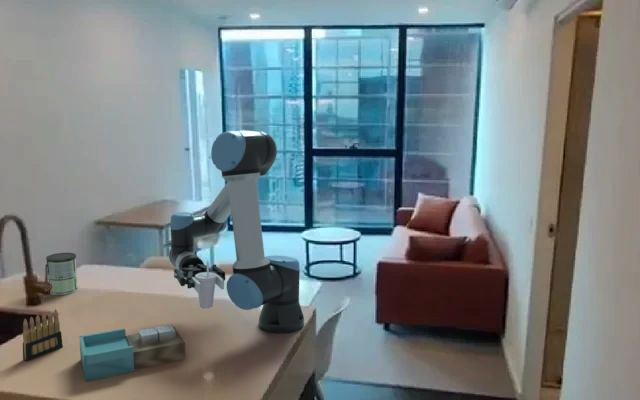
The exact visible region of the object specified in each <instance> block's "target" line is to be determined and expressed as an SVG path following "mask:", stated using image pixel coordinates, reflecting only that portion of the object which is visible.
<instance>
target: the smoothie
mask: <svg viewBox="0 0 640 400" xmlns="http://www.w3.org/2000/svg"><path fill="white" fill-rule="evenodd" d="M209 262H210V261H209V260H206V266H207V272H202V273H198V274H196V275H195V278H196V279H197V280H198V281H199V283H200V284H201V293H198V292H197V296H198V301H199V302H198V303H199V308H201V309H210V308H213V306H214V305H213V304H214V297H215V288H216V284H215V282H216V279H217V274H215V273H212V272H209V267H210V265H209Z"/></svg>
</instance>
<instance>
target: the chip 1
mask: <svg viewBox="0 0 640 400" xmlns="http://www.w3.org/2000/svg"><path fill="white" fill-rule="evenodd" d="M138 334H139V340H140V342H141V344H142V345H144V344H149V343H154V342H158V332H157V331H156V327H151V328H144V329H139V330H138Z"/></svg>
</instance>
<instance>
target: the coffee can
mask: <svg viewBox="0 0 640 400" xmlns="http://www.w3.org/2000/svg"><path fill="white" fill-rule="evenodd" d="M76 258H77V254H76V253H73V252H57V253H53V254H50V255H47V256H46V257H45V259H46V267H48V271H47V281H48V280H49V282H50V283H51V284H52V286H53V290H52V291H51V293H50V294H49V295H52V296H65V295H70V294H73V293H75V292H78V289H79V288H78V276H77V275H78V273H77V259H76Z"/></svg>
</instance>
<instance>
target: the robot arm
mask: <svg viewBox="0 0 640 400" xmlns="http://www.w3.org/2000/svg"><path fill="white" fill-rule="evenodd" d="M210 151H211V152H210V157H211V160H212V163H213V165H214V166H215V168H216V169H218V171H221V177H222V179H223V180H225V181H226V184H225V185H224V186H223V187H222V189H221V190H220V192H219V194H217V196H216V197H215V198H214V200H213V201H212V202H211V204H210V206H209V207H208V208H207V210H206V211H205V212H204V213H203V214H201V215H195V216H194V214H193V213H191V212H188V211H183V212H182V211H181V212H179V211H177V212H174V213H173V214H171V216H170V226H169V228H170V242H171V243H170V244H171V245H170V250H169V253H168V259H169V262H170V263H171V265H172V266H173V267H175V268H174V269H173V278H174V279H177V282H178V283H179V285H180V287H185V286H186V285H187V289H194V290H195V292H197V294H198V293H201V284H200V283H199V281H198V280H197V279H196V278H195V275H196V274H198V273H202V272H207V264H205V263H204V261H203V260H202V259H201V258H200V257H199V256H198V255H197V254H196V253H195V252H194V251H195V250H194V249H195V247H194V246H195V240H194V239H197V238H200V237H205V236H210V235H217V234H219V233H221V232H223V231H225V229H226V228H227V225H228V218H229V217H230V215H231V221H232V230H233V240H234V248H235V257H236V260H235V261H234V263H233V264H232V266H231V267H232V274H231V276H230V277H228V280H227V281H226V272H225V271H224V270H223V269H222V268H219V267H218V266H217V264H212V265H211V266H209V272H212V273H215V274H217V279H216V282H215V286H217V287H218V288H219V289H221V290H225V281H226V292H227V295H228V297H229V299H230V301H231V302H232V303H234V305H235V306H236V307H237V308H239V309H241V310H245V311H249V310H250V311H251V310H253V309H258V308H260V307H261V306H262V308H261V310H260V313H259V317H258V327H259V328H260V329H262V330H264V331H267V332H270V333H277V334H284V333H293V332H296V331H298V330H300V329H302V328H303V327H304V325H305V317H304V313H303V311H302V307H301V304H300V273H301V269H300V262H299V260H298V259H297V258H295V257H291V256H287V255H276V254H275V255H267V256H265V248H264V240H263V239H264V238H263V232H262V231H263V229H262V220H261V211H260V204H259V203H260V202H259V194H258V186H257V185H258V183H257V181H258V179H259V178H260V177H264V176H265V175H266V174H267V173H268V172H269V171H270V169H271V168H272V166H273V164H274V163H275V161H276V160H277V159H276V158H277V154H278V149H277V144H276V141H275V140H274V137H272V135H270V134H269V133H268V132H265V131H263V130H237V129H235V130H229V131H224V132H222V133H220V134H218V135H217V137H216V138H215V140H214V141H213V143H212V146H211V150H210Z"/></svg>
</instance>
